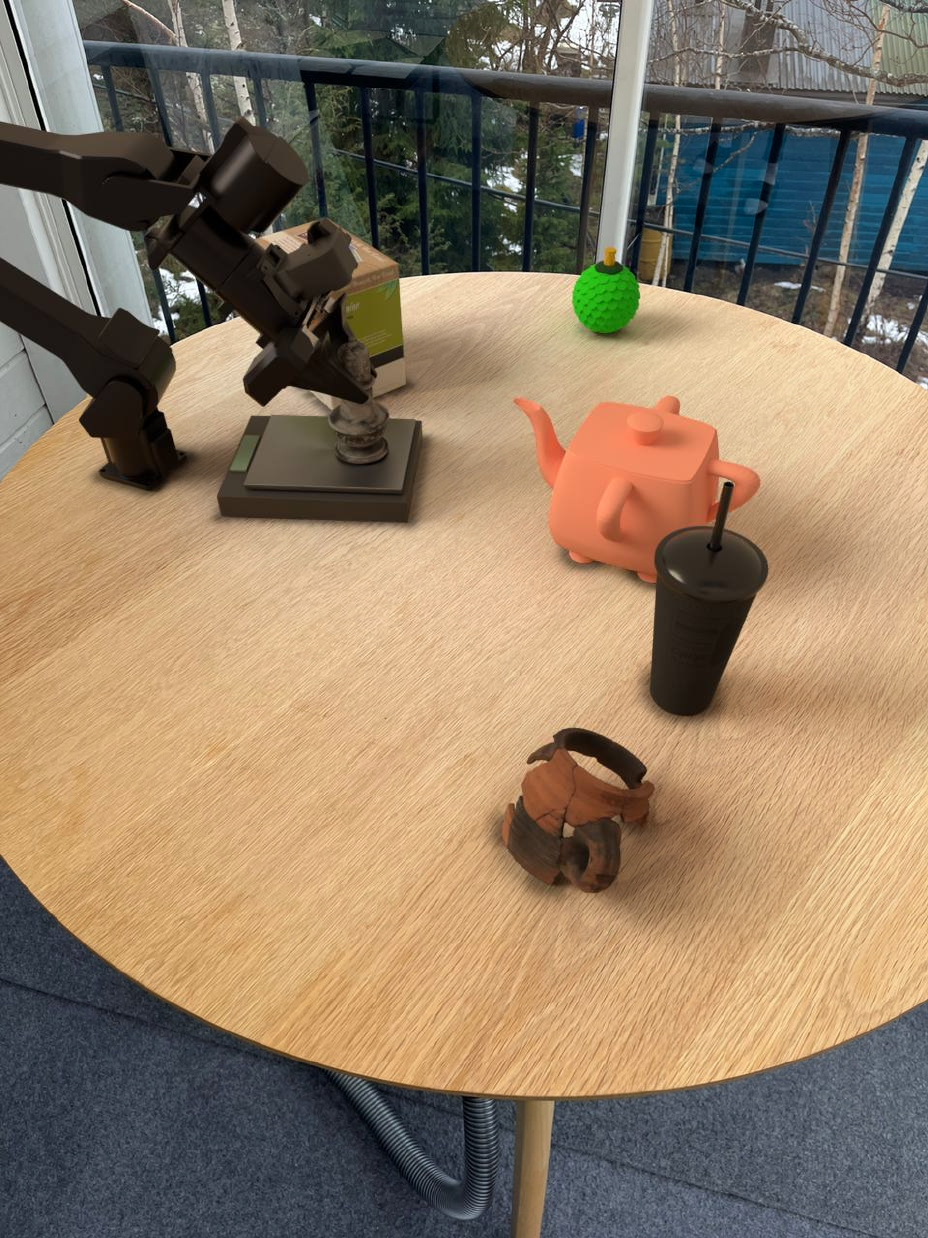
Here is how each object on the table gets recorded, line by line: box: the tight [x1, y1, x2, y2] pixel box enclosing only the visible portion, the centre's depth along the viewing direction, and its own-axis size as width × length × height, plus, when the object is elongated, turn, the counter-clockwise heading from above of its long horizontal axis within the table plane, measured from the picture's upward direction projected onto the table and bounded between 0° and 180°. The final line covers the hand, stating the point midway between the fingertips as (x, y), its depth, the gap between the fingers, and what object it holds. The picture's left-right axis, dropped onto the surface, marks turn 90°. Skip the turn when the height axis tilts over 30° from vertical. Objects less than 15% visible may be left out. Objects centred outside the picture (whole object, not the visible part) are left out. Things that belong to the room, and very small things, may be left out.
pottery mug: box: [501, 727, 655, 894], centre depth 62 cm, size 12×10×8 cm
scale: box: [216, 415, 424, 524], centre depth 94 cm, size 18×14×3 cm
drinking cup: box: [649, 481, 770, 717], centre depth 66 cm, size 8×8×20 cm
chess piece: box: [327, 335, 391, 464], centre depth 88 cm, size 6×6×12 cm
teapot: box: [512, 395, 761, 584], centre depth 82 cm, size 17×16×13 cm
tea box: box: [253, 217, 407, 411], centre depth 104 cm, size 15×10×15 cm, turn 36°
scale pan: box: [244, 414, 417, 494], centre depth 92 cm, size 15×12×1 cm
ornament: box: [571, 246, 641, 334], centre depth 112 cm, size 8×8×10 cm
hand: (370, 389), depth 87 cm, fingers closed on chess piece, 3 cm apart
